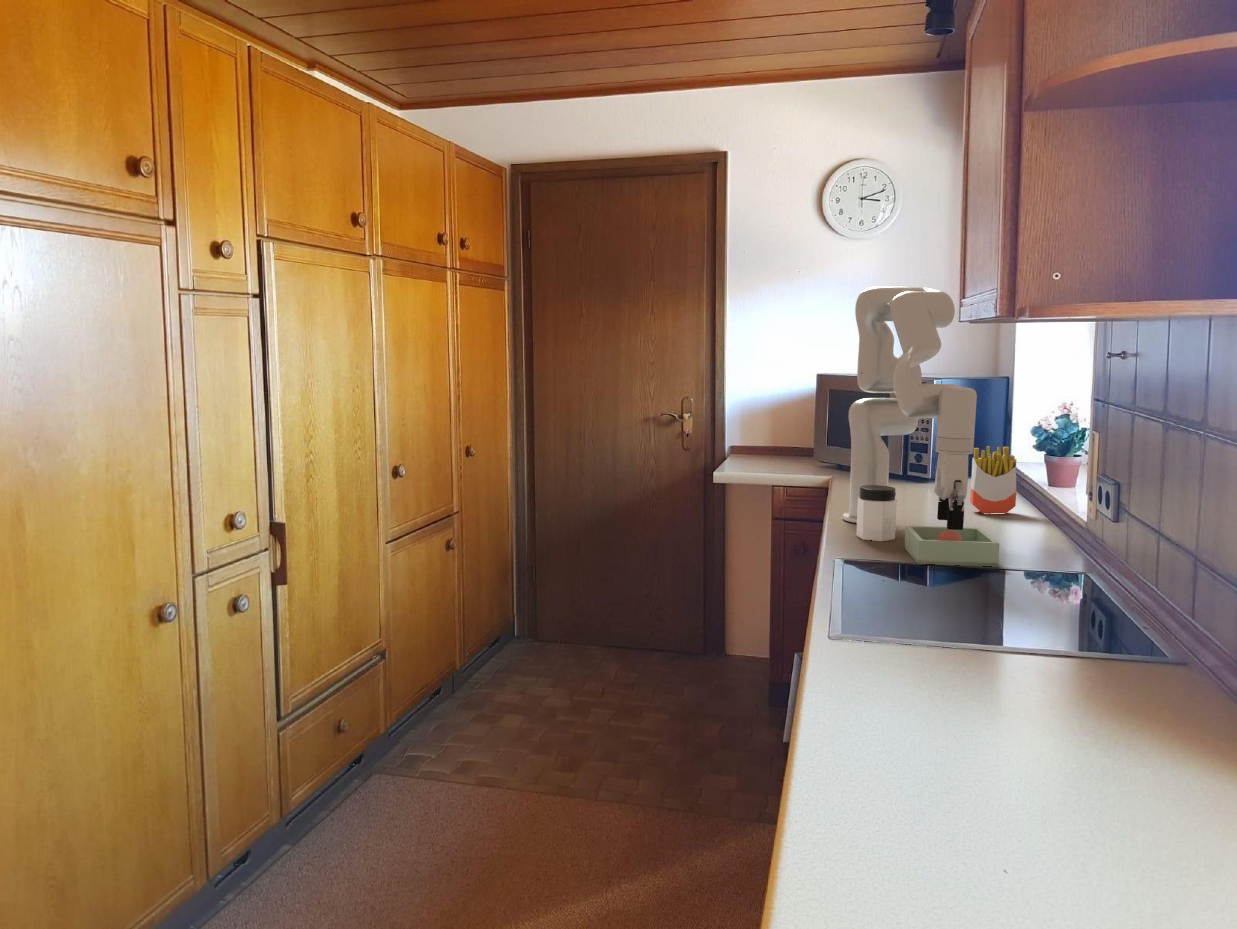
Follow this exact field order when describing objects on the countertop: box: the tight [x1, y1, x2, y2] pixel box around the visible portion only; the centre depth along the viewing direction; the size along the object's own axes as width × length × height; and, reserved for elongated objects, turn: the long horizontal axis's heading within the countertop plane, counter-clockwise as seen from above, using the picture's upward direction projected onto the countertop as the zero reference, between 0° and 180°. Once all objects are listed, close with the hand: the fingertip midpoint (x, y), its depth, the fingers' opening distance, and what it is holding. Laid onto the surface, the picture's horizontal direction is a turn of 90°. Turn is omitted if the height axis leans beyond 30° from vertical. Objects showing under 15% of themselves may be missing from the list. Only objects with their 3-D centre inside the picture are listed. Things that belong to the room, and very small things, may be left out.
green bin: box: [904, 525, 1000, 568], centre depth 200 cm, size 16×16×5 cm
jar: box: [855, 485, 898, 543], centre depth 219 cm, size 9×8×12 cm
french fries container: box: [969, 445, 1017, 514], centre depth 251 cm, size 5×11×18 cm, turn 79°
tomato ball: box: [938, 530, 962, 541], centre depth 200 cm, size 5×5×5 cm
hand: (949, 524), depth 200 cm, fingers open, 9 cm apart
